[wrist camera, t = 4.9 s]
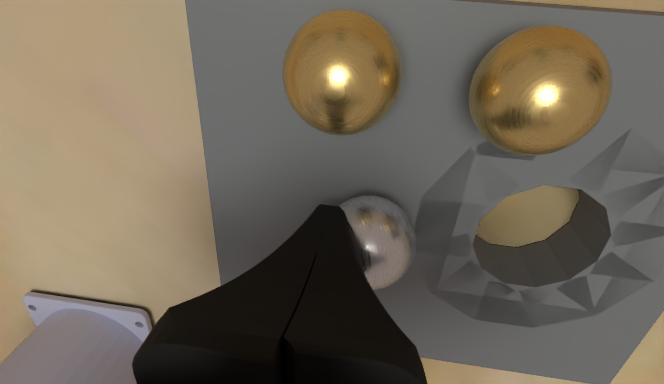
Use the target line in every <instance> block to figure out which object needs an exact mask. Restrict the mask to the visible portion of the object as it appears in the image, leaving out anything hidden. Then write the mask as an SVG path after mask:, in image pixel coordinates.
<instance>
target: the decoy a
mask: <svg viewBox="0 0 664 384" xmlns="http://www.w3.org/2000/svg"><path fill="white" fill-rule="evenodd" d="M402 75H403V70H402V60H401V55H400V52H399V49H398V47H397V45H396V42H395V40H394V39H393V37H392V36H391V34H390V33H389V32H388V30H387V29H386V28H385V27H384V26H383V25H382V24H381V23H380V22H378V21H377V20H375V19H374V18H372V17H371V16H369V15H367V14H364V13H362V12H358V11H354V10H348V9H338V10H331V11H327V12H324V13H321V14H319V15H317V16H315V17H313V18H312V19H310V20H308V21H307V22H306V23H305V24H304V25H303V26H301V27H300V29H299V30H298V31H297V32H296V33H295V34H294V36H293V38H292V39H291V41H290V43H289V45H288V47H287V49H286V52H285V55H284V60H283V66H282V81H283V86H284V90H285V93H286V97H287V99H288V101H289V103H290V105H291V107H292V108H293V110H294V111H295V113H296V114H297V115H298V116H299V117H300V118H301V119H302V120H303V121H304V122H305V123H306V124H308V125H309V126H311V127H312V128H314V129H316V130H318V131H320V132H323V133H326V134H330V135H338V136H345V135H353V134H357V133H360V132H363V131H366V130H368V129H370V128H372V127H373V126H375V125H376V124H378V123H379V122H380V121H381V120H382V119H383V118H384V117H385V116H386V115H387V114H388V113H389V111H390V110H391V108H392V107H393V105H394V104H395V102H396V100H397V97H398V95H399V92H400V88H401V84H402Z"/></svg>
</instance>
